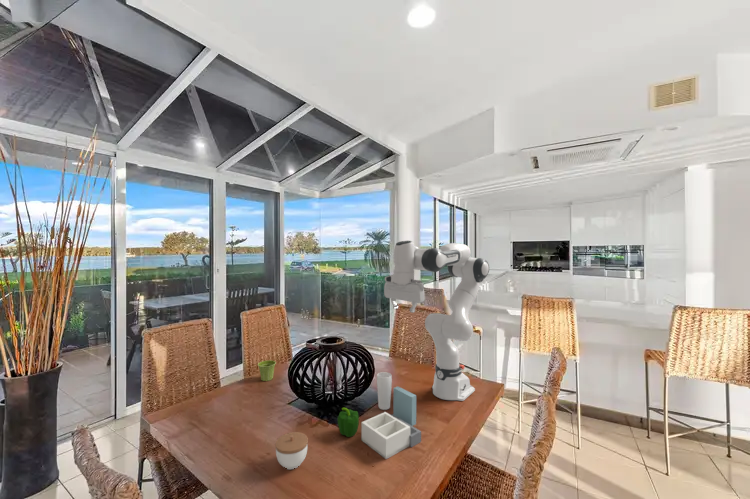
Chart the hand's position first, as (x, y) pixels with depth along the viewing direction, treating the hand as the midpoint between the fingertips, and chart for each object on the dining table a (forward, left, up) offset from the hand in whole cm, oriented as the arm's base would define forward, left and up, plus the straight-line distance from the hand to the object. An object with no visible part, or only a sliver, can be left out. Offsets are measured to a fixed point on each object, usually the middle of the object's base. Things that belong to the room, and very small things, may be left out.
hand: (403, 310), depth 142 cm
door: (+2, +3, -46) cm, 46 cm away
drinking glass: (+2, -10, -46) cm, 47 cm away
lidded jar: (+51, -2, -46) cm, 69 cm away
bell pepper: (+26, -4, -46) cm, 53 cm away
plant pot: (+31, -74, -46) cm, 92 cm away
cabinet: (+17, +10, -46) cm, 50 cm away
